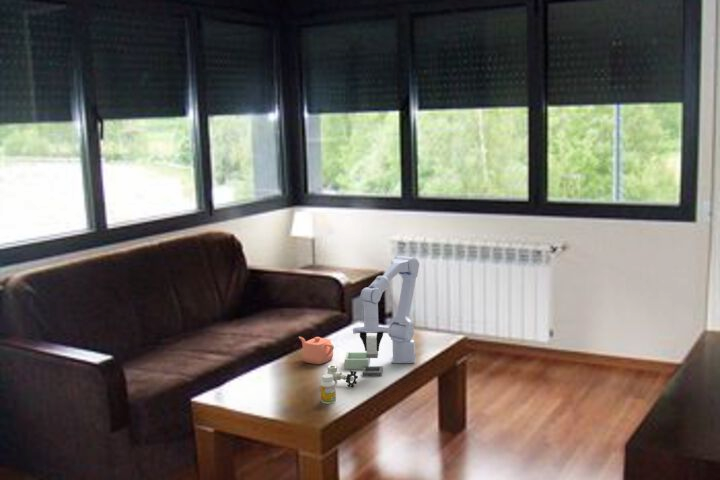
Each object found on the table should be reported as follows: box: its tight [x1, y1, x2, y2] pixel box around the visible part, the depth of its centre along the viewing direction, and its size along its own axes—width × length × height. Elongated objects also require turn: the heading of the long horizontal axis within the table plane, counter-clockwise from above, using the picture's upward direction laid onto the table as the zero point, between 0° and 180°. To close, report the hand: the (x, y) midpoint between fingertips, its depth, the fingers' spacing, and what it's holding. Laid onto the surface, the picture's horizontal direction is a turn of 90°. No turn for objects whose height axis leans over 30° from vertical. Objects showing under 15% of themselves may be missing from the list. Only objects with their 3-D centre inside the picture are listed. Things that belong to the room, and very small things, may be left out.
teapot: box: [298, 336, 335, 365], centre depth 331 cm, size 12×18×10 cm, turn 57°
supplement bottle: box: [320, 373, 337, 405], centre depth 284 cm, size 5×5×10 cm
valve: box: [326, 364, 359, 388], centre depth 302 cm, size 7×7×12 cm
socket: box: [362, 365, 384, 377], centre depth 314 cm, size 8×8×2 cm
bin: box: [344, 351, 371, 370], centre depth 324 cm, size 10×10×4 cm
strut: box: [366, 335, 379, 359], centre depth 313 cm, size 4×4×8 cm
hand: (372, 350), depth 313 cm, fingers closed on strut, 4 cm apart
